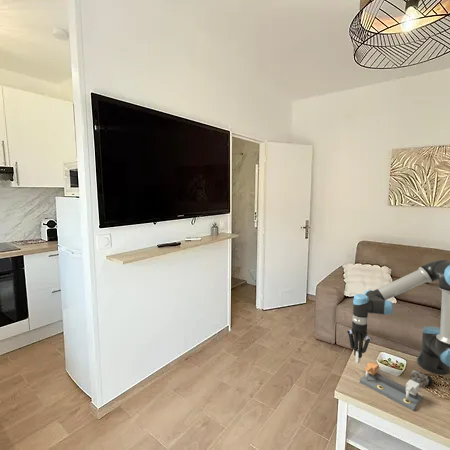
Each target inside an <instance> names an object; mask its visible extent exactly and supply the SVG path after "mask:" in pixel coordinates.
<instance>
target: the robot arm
mask: <svg viewBox="0 0 450 450" xmlns="http://www.w3.org/2000/svg"><path fill="white" fill-rule="evenodd" d="M435 281H438V288H439V290H440V291H441V302H440V303H441V305H440V306H441V309H440V323H439V324H440V326H439V327H437V326H429V325H427V326H424V327H423V328H422V338H421V350H420V352H419V354H418V356H417V358H416V363H417V365H418V366H419V367H421V368H422V369H423V370H426V371H427V372H430V373H433V374H436V375H437V374H438V375H448V374H449V373H450V260H447V259H437V260H434V261H431V262H428V263H426V264H423V265H421V266H420V267H418V269H417V270H415V271H412V272H411V273H408V274H406V275H404V276H402V277H400V278H398V279H396V280H393V281H391V282H389V283H387V284H384V285H382V286H380V287H378V288H376V289H374V290H372V289H368V290H366V291H365V292H364V293H363V294H362V293H355V295H353V301H352V324H351V329H348V330H347V331H346V333H347V334H348V338H349V343H350V348H351V349H353V352H354V353H353V356H354V357H355V359H354V360H355V361H354V363H355V364H359V363H360V362H361V358H362V357H363V354H365V353H366V352H367V350H368V346H369V344H370V342H371V340H372V337H370V336H369V335H368V332H367V331H368V316H369V314H372V315H373V314H375V315H384V316H385V315H391V316H392V314H393V313H394V304H393V302H392V301H391V300H389V299H392V298H394V297H396V296H399V295H401V294H403V293H406V292H408V291H410V290H412V289H414V288H416V287H419V286H420V285H424V284H426V283H432V282H435ZM364 339H365V341H364Z"/></svg>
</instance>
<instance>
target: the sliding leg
mask: <svg viewBox="0 0 450 450" xmlns="http://www.w3.org/2000/svg"><path fill="white" fill-rule="evenodd" d="M364 371H365V375H366V377H365V378H366V379H368V373H370V374H372V375H375V374H376V373H378V372H379V364H377V363H375V362H373V361H369V362H368V363H367V364H366V367H365V369H364Z"/></svg>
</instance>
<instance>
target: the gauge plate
mask: <svg viewBox="0 0 450 450" xmlns="http://www.w3.org/2000/svg"><path fill="white" fill-rule="evenodd" d="M365 377H366V374H365V375H364V376H362V377H361V378H360V379H359V383H360V384H363V385H364V386H366V387H368V388H369V389H371V390H373V391H375V392H377V393H379V394H381V395H383V396H385V397H386V398H388V399H390V400H393V401H394V402H396V403H398V404H400V405H401V406H403V407H405V408H407V409H409V410H411V411H413V412H414V411H415V410H416V408H417V407H418V406H419V405H420V403H421V402H422V401H423V398H424V397H423V396H422V395H421V394H419V391H420V387H419V383H417V382H414V381H412V380H411V379H408V381H407V382H406V383H405V386H404V385H402V384H400V383H399V382H396V381H394V380H393V379H390V378H387V377H385V376H384V375H382V374H380V373H378V372H377V373H376V374H375V375H372V374H370V373H368V379H366V378H365Z"/></svg>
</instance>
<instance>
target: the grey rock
mask: <svg viewBox="0 0 450 450" xmlns="http://www.w3.org/2000/svg"><path fill="white" fill-rule="evenodd" d="M409 380H412V381H414V382H417V383H419V388H422V389H425V388H426V386H431V385H433V380H434V379H433V378H432V377H431V376H429V375H427V374H426V373H424V372H421V371H419V370H418V369H416V368H414V369H413V370H412V371H411V373H410V375H409Z"/></svg>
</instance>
